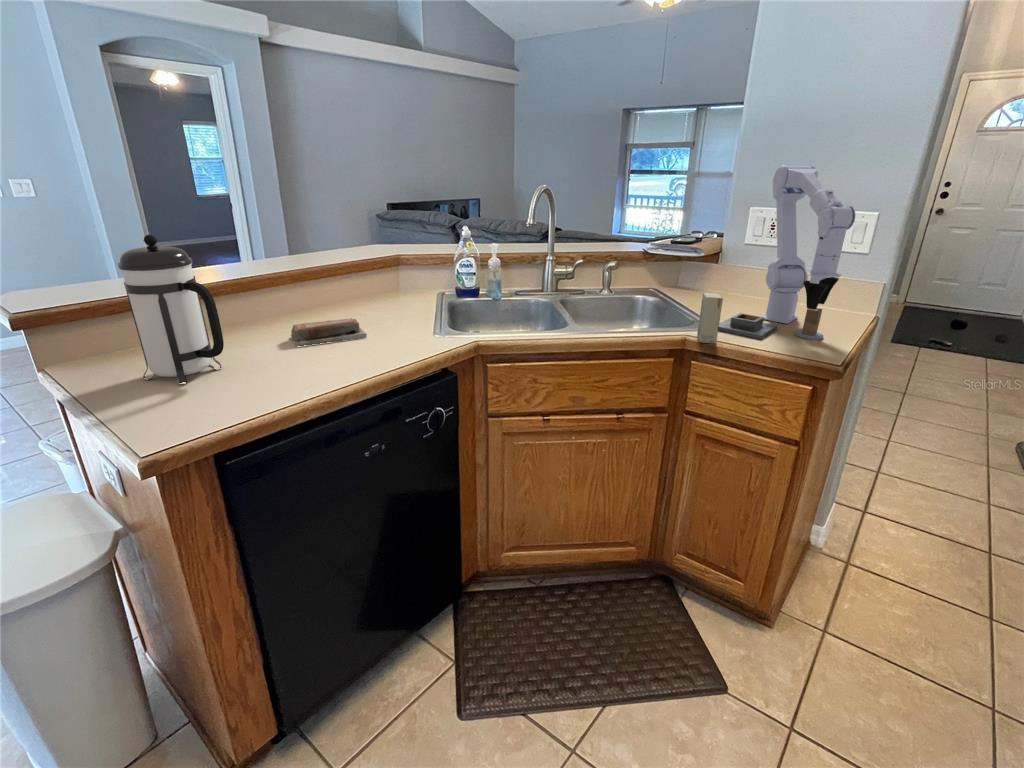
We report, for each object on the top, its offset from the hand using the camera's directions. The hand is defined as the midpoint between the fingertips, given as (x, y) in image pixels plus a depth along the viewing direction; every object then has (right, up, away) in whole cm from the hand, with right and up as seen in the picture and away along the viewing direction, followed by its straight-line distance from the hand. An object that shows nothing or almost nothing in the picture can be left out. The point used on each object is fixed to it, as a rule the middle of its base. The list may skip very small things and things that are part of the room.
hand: (815, 306), depth 143 cm
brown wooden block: (0, -7, +3) cm, 8 cm away
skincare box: (-30, -9, 0) cm, 31 cm away
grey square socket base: (-15, -5, +9) cm, 18 cm away
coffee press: (-153, -19, -25) cm, 156 cm away
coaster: (0, -8, +3) cm, 8 cm away
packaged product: (-131, -9, 0) cm, 131 cm away
